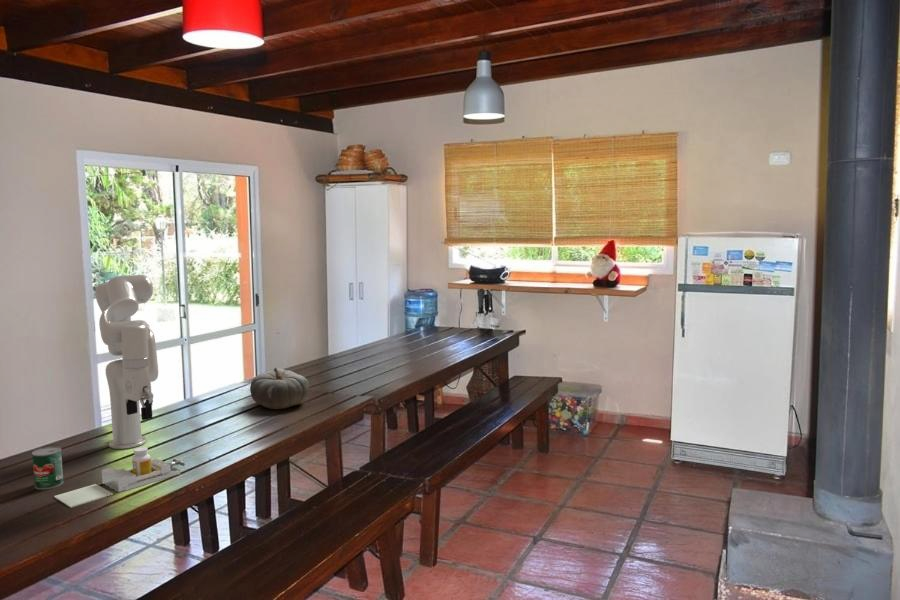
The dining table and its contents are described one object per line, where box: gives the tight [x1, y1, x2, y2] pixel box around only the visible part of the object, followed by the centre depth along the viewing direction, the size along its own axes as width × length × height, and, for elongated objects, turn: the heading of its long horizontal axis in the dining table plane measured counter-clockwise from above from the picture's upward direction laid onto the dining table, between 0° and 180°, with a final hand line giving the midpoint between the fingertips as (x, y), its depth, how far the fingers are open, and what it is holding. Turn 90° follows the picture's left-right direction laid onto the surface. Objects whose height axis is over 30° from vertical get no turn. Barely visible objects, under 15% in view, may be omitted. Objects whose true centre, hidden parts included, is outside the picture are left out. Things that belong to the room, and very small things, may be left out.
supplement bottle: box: [131, 446, 152, 476], centre depth 220 cm, size 5×5×10 cm
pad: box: [53, 483, 114, 508], centre depth 206 cm, size 12×12×1 cm
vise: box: [101, 458, 186, 493], centre depth 221 cm, size 12×23×4 cm, turn 140°
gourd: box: [249, 367, 310, 410], centre depth 304 cm, size 25×25×17 cm
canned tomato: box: [31, 446, 64, 490], centre depth 215 cm, size 8×8×11 cm
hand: (139, 416), depth 218 cm, fingers open, 9 cm apart
